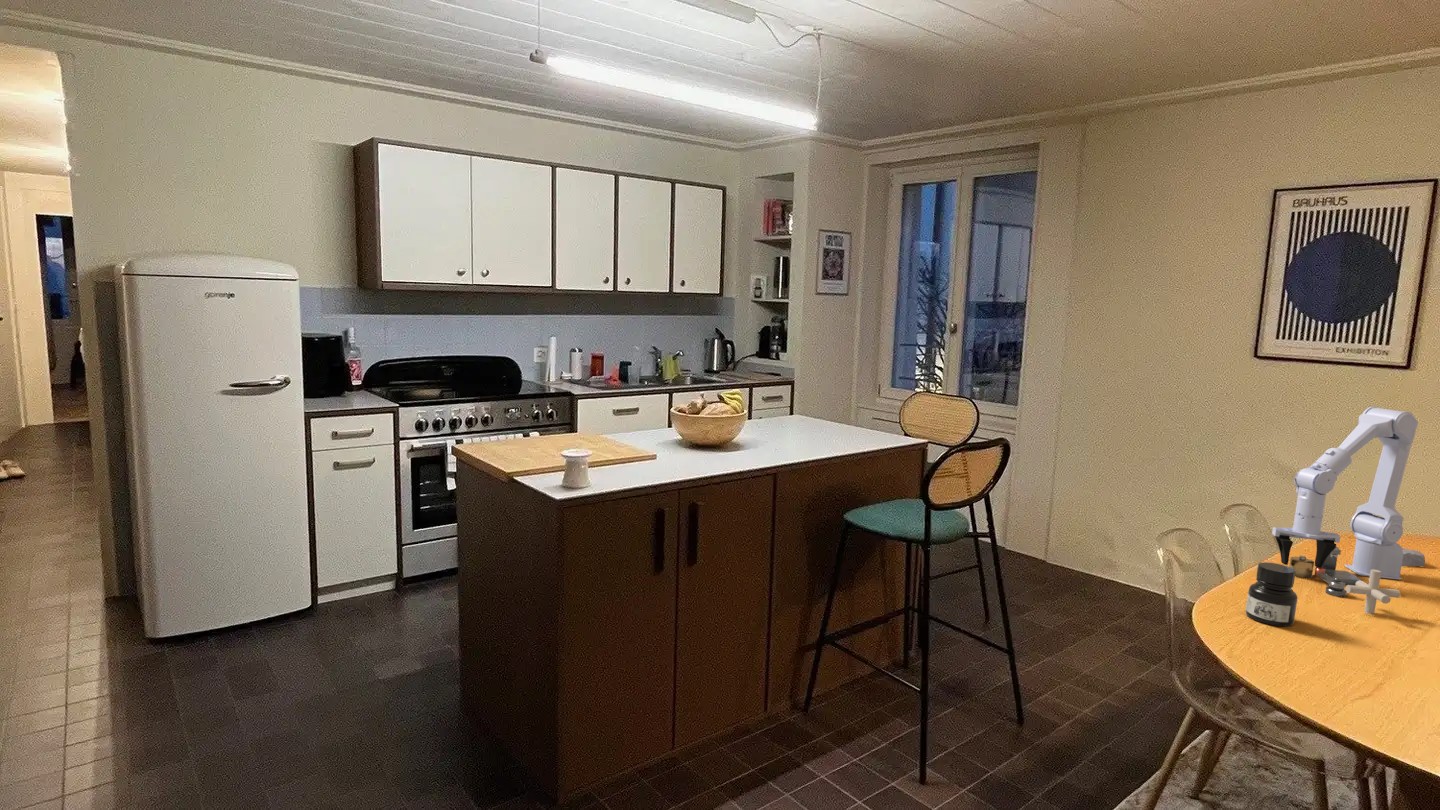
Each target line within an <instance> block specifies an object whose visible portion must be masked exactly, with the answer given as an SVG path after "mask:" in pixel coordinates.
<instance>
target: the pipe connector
mask: <svg viewBox="0 0 1440 810" xmlns="http://www.w3.org/2000/svg"><path fill="white" fill-rule="evenodd" d="M1380 575H1381V571H1379V570H1374V569H1371V572H1370V576H1369V578H1368V580H1369V581H1368V583H1366V582H1365V581H1363V580H1362V579H1361V580H1362V581H1361V580H1359V581H1357V582H1356V583H1355V584H1356V586H1354V585H1345V590H1346V591H1347V593H1348V594H1356V595H1365V596H1366V598H1365V604H1364V613H1366V614H1370V615H1374V614H1375V611H1376V604H1377V600H1378V601H1380V602H1381V603H1383V604H1386V605H1387V604H1389V603H1391V598H1397V599H1398V598H1400V596H1401V591H1400V590H1399V589H1393V588H1384V587H1383V588H1382V587H1380V582H1381V581H1380V580H1381V578H1380ZM1347 593H1346V594H1347Z"/></svg>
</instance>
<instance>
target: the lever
mask: <svg viewBox="0 0 1440 810" xmlns="http://www.w3.org/2000/svg"><path fill="white" fill-rule="evenodd" d="M1314 577H1317V578H1320V579H1321V580H1322V581H1324V582H1326V583H1327V584H1328V586H1329V588H1331V589H1335V590H1340V591H1343V590H1346V585H1345V583H1343V582H1336V581H1334V579H1333V578H1332V577H1330V576H1329V575H1327V574H1326V573H1325V569H1324V568H1320V567H1316V566H1315V567H1314Z"/></svg>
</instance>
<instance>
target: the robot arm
mask: <svg viewBox="0 0 1440 810" xmlns="http://www.w3.org/2000/svg"><path fill="white" fill-rule="evenodd" d="M1357 422H1358V424H1357V425H1356V426H1355V428H1354V429H1353V430H1352V431H1351V432H1350V433H1349V434H1348V436H1347V437H1346V438H1344V440H1343V441H1342V442H1341V444H1340V445H1339V446H1338V447H1330V448H1328V449H1327V450H1325V451H1324V453H1323V454H1322V455H1320V456H1319V458H1318V459H1317V460H1315V461H1314V462H1313V463H1312V464H1311V465H1310V466H1309V467H1304V468H1302V469H1299V471H1297V473H1296V475H1295V476H1294V478H1293V483H1294V485H1295V487H1296V489H1295V493H1296V494H1297V498H1296V506H1295V513H1294V518H1293V519H1294V520H1293V525H1292V527H1274V526H1273V527H1272V532H1271V534H1272V535H1273V536H1274V538H1275V540H1276V543H1277V546H1278V549H1279V552H1280V553H1279V554H1280V558H1281V559H1280V561H1281V562H1280V563H1282V565H1284V566H1289V565H1288V564H1289V562H1290V552H1291V549H1292V546H1293V544H1294V541H1292V540H1291V539H1292V538H1296V539H1304V540H1305V539H1307V540H1313V541H1314V540H1315V541H1316V551H1315V552H1316V555H1315V559H1314V567H1315V568H1316V567H1320V568H1322V566H1323V564H1324V562H1325V560H1326V558H1327V557H1328V555H1329V554H1330V553H1331V552H1332V551H1333V550H1334V549H1335V548H1336V547H1337V543H1339V544H1340V541H1341V535H1340V534H1338V533H1336V532H1328V531H1323V530H1321V529H1322V525H1323V524H1322V523H1323V517H1324V509H1325V505H1326V504H1325V503H1326V497H1327V494H1329V493H1330V492H1331V491H1333V489H1334V486H1335V485H1336V481H1337V479H1338V476H1340V475H1341V474H1342V473H1343V471H1345V470H1346V469H1347V468H1348V467H1349V466H1350V465H1351V464H1352V461H1353V459H1352V456H1354V455H1355V454H1356V453H1357V452H1358V451H1360V450H1361V449H1362V448H1363V447H1365V446H1366V445H1367V444H1369V443H1370V442H1371V441H1372V440H1373V439H1376V438H1377V439H1378V440H1379V441H1380V442H1381V443H1382V450H1381V454H1380V457H1379V462H1378V465H1377V468H1376V472H1375V475H1374V479H1373V483H1372V487H1371V490H1370V494H1369V498H1368V501H1367V502H1366V503H1362V504H1360V505H1358V506H1357V508H1356V511H1355V513H1354V515H1353V516H1352V518H1351V519H1350V522H1349V523H1350V524H1349V525H1350V526H1349V527H1350V530H1351V531H1352V533H1354V535H1353V537H1355V538H1356V540H1355V547H1354V553H1353V558H1352V564H1348V563H1347V564H1346V563H1345V564H1344V567H1346V568H1347V569H1348V570H1350V571H1351V572H1354V573H1355V574H1356V575H1358V576H1363V577H1370V572H1371V569H1374V570H1379V571H1381V575H1380V579H1381V578H1382V579H1391V580H1398V581H1399V580H1402V577H1401V571H1402V560H1403V550H1402V548H1403V547H1402V546H1401V544H1399V543H1398V542H1399V541H1400V540H1401V538H1402V536H1403V533H1404V527H1403V521H1404V517H1403V516H1402V514H1401V513H1400V512H1399V511H1398V510H1397V508H1396V507H1395V506H1396V503H1397V498H1398V497H1399V496H1398V495H1399V492H1400V488H1401V485H1402V481H1403V477H1404V474H1405V470H1406V466H1407V464H1408V459H1409V456H1410V451H1411V448H1412V444H1413V443H1414V439H1415V435H1416V432H1417V427H1418V424H1419V422H1418V420H1417V418H1416V417H1415V415H1414V414H1413V413H1412V412H1410V411H1403V410H1402V411H1401V410H1394V409H1388V408H1382V407H1377V406H1370V407H1367V408H1366V409H1365V410H1364V411H1363V412H1362V413H1361V414H1360V415H1359V416H1358V421H1357Z"/></svg>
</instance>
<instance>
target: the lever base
mask: <svg viewBox="0 0 1440 810" xmlns="http://www.w3.org/2000/svg"><path fill="white" fill-rule="evenodd" d="M1334 581H1336V582H1342V578H1338V577H1334ZM1324 591H1325V593H1326V594H1327V595H1329V596H1332V597H1337V598H1346V597H1347V591H1346V589H1344V590H1343V591H1340V590H1335V589H1331V588H1329V585H1328V586H1326V587H1325V590H1324Z"/></svg>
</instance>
